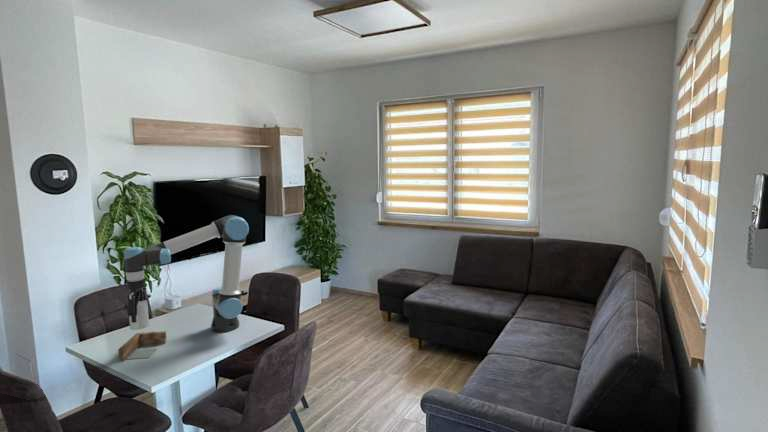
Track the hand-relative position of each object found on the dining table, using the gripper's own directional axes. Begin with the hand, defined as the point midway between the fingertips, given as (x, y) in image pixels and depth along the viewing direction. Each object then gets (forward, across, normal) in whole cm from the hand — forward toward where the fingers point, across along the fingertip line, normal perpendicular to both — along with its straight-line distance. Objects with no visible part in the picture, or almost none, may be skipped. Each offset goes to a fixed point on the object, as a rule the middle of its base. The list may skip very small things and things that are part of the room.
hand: (139, 324), depth 205 cm
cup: (+1, 0, 0) cm, 1 cm away
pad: (+15, 0, 0) cm, 15 cm away
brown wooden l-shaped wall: (+15, -2, 0) cm, 15 cm away
